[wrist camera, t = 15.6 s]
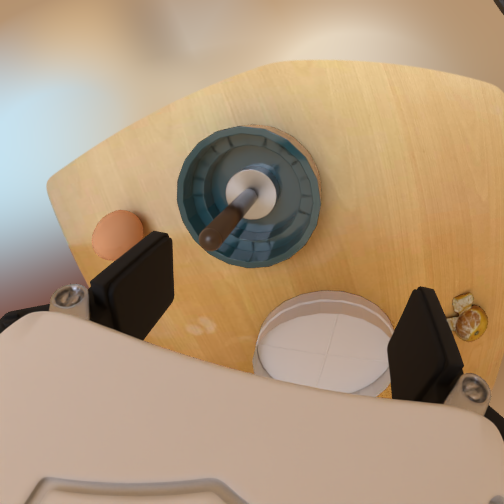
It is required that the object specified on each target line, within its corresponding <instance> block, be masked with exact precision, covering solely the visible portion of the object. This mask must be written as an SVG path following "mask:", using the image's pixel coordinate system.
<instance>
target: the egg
mask: <svg viewBox="0 0 504 504" xmlns="http://www.w3.org/2000/svg"><path fill="white" fill-rule="evenodd" d="M142 238H143V226H142V223H141V221H140V219H139V218H138V217H137V216H136V215H135V214H133V213H131V212H129V211H124V210H118V211H114V212H112V213H109V214H108V215H106V216H105V217H103V218H102V219H101V220H100V221H99V223H98V224H97V226H96V228H95V230H94V232H93V235H92V246H93V249H94V251H95V253H96V254H97V255H98V256H99V257H101V258H103V259H105V260H117V259H118V258H119V257H120V256H122V255H123V254H124V253H125V252H127V251H128V250H129V249H131V248H132V247H133V246H134V245H136V244H137V243H138V242H139V241H141V240H142Z"/></svg>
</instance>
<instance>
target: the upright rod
mask: <svg viewBox="0 0 504 504" xmlns="http://www.w3.org/2000/svg"><path fill="white" fill-rule="evenodd" d="M279 194H280V188H279V184H278V181H277V179H276V178H275V176H274V175H273V174H272V173H271V172H270V171H268V170H267V169H265V168H263V167H259V166H249V167H246V168H243V169H242V170H240V171H239V172H237V173H236V174H234V175H233V176H232V177H231V178H230V180H229V181H228V183H227V186H226V200H227V203H228V206H227V207H226V208H225V209H224V210H223V211H222V212H221V213H220V214H219V215H218V216H217V217H216V218H215V219H214V220H213V221H212V222H211V223H210V224H209V225H208V226H207V227H206V228H205V229H203V230H202V232H201V233H200V235H199V243H200V245H201V247H202V248H203V249H205V250H207V251H215V250H217V249H218V248H219V247H220V246H221V245H222V244H223V242H224V241H225V240H226V238H227V237H228V236H229V235H230V233H231V232H232V231H233V229H234V228H235V227H236V226H237V224H238V223H239V222H240V221H241V219H242V218H245V219H250V220H256V219H260V218H263V217H265V216H267V215H268V214H269V213H270V212H271V211H272V210H273V208H274V206H275V205H276V203H277V201H278V198H279Z"/></svg>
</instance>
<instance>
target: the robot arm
mask: <svg viewBox="0 0 504 504" xmlns="http://www.w3.org/2000/svg"><path fill="white" fill-rule="evenodd" d="M90 284H91V287H90V288H89V289H88V290H87V289H86V288H85V287H84V286H82V285H78V284H70V285H66V286H63V287H61V288H59V289H58V290H56V291H55V292H54V293H53V295H52V297H51V300H50V304H47V305H42V306H37V307H31V308H26V309H21V310H16V311H11V312H8V313H6V314H5V315H4V316H3V317H2V318H1V319H0V504H504V418H503V417H502V416H501V415H499V414H498V413H497V412H496V411H495V410H494V409H492V408H491V407H490V406H489V402H490V399H491V391H490V388H489V386H488V384H487V383H486V381H485V380H483V379H482V378H481V377H480V376H478V375H476V374H473V373H466V374H464V373H463V370H462V368H463V366H464V364H463V361H462V358H461V355H460V353H459V350H458V347H457V344H456V342H455V339H454V336H453V334H452V331H451V329H450V326H449V324H448V321H447V319H446V316H445V314H444V312H443V309H442V307H441V305H440V302H439V300H438V298H437V296H436V293H435V291H434V290H433V289H430V288H426V287H421V286H420V287H418V289H417V290H416V289H414V290H413V291H412V293H411V296H410V298H409V300H408V303H407V305H406V307H405V309H404V311H403V314H402V316H401V318H400V320H399V322H398V324H397V326H396V328H395V330H394V332H393V334H392V336H391V338H390V340H389V343H388V346H387V355H388V363H389V371H390V380H391V390H392V399H388V398H380V397H372V396H364V395H357V394H351V393H344V392H338V391H332V390H326V389H321V388H315V387H310V386H305V385H300V384H295V383H290V382H286V381H281V380H277V379H272V378H268V377H264V376H260V375H255V374H251V373H247V372H243V371H240V370H236V369H232V368H228V367H225V366H221V365H218V364H214V363H211V362H207V361H204V360H201V359H197V358H194V357H191V356H187V355H184V354H181V353H178V352H175V351H172V350H169V349H166V348H163V347H160V346H157V345H154V344H151V343H149V342H146V341H143V340H144V339H145V337H146V336H147V335H148V333H149V332H150V331H151V329H152V328H153V327H154V325H155V324H156V323H157V321H158V320H159V319H160V318H161V316H162V315H163V314H164V312H165V311H166V310H167V308H168V307H169V306H170V305H171V303H172V302H173V299H174V278H173V249H172V239H171V238H169V236H168V234H167V233H162V232H158V231H153V232H151V233H150V234H149V235H147V236H146V237H145V238H143V239H142V240H141V241H139V242H138V243H137V244H136V245H134V246H133V247H132V248H131V249H129V250H128V251H127V252H125V253H124V254H123V255H122V256H120V257H119V258H118V259H117V260H116V261H114V262H113V263H112V264H111V265H109V266H108V267H107V268H106V269H105V270H103V271H102V272H101V273H100V274H99V275H97V276H96V277H95V278H94V279H93V280H91V281H90Z"/></svg>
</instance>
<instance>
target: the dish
mask: <svg viewBox="0 0 504 504" xmlns="http://www.w3.org/2000/svg"><path fill="white" fill-rule="evenodd" d="M393 332H394V329H393V327H392V324H391V322H390V320H389V318H388V316H387V315H386V314H385V313H384V312H383V311H382V310H381V309H380V308H379V307H378V306H377V305H376V304H374V303H372V302H370V301H368V300H367V299H365V298H363V297H361V296H358V295H354V294H350V293H346V292H343V291H317V292H312V293H306V294H301V295H299V296H296V297H294V298H292V299H290V300H287V301H285V302H283V303H282V304H281V305H279V306H278V307H277V308H276V309H274V310H273V311H272V312H271V313H270V314H269V315H268V317H267V318H266V320H265V321H264V323H263V324H262V326H261V329H260V332H259V336H258V339H257V343H256V347H255V348H256V349H255V352H254V356H253V368H254V373H255V375H260V376H264V377H268V378H272V379H277V380H281V381H286V382H290V383H295V384H300V385H305V386H310V387H315V388H321V389H326V390H332V391H338V392H344V393H351V394H357V395H364V396H372V397H376V396H378V395H379V394H380V393H381V392H383V391H384V390H385V389H386V388H387V386H388V385H389V384H390V382H391V380H390V371H389V363H388V355H387V346H388V343H389V340H390V338H391V336H392V334H393Z"/></svg>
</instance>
